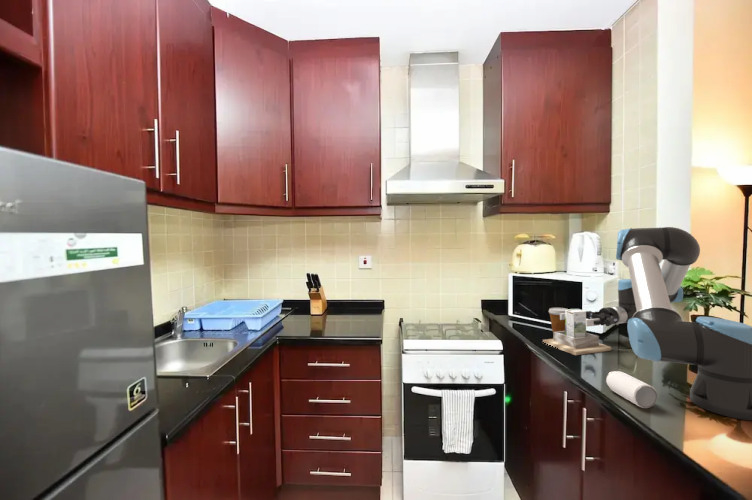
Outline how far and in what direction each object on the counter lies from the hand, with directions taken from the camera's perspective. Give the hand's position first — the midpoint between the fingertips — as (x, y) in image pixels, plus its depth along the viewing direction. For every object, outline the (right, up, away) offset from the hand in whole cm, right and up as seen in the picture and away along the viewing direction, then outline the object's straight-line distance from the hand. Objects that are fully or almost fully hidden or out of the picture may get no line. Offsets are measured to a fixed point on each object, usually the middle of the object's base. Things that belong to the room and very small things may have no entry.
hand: (572, 319), depth 145 cm
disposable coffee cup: (+6, -11, +22) cm, 25 cm away
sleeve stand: (+1, -12, 0) cm, 12 cm away
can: (-12, -9, -55) cm, 57 cm away
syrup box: (+1, -10, 0) cm, 10 cm away
